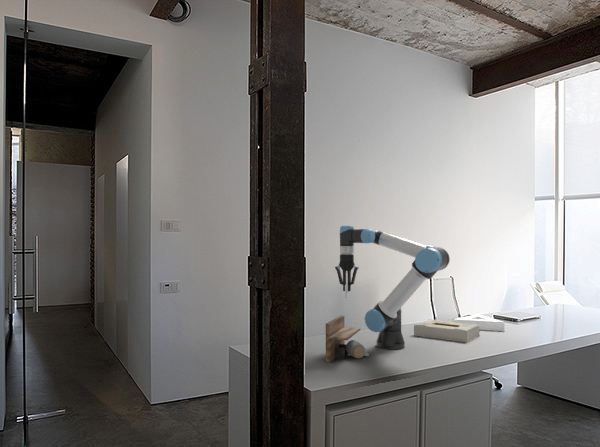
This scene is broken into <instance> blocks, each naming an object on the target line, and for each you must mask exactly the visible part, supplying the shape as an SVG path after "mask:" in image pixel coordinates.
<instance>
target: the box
mask: <svg viewBox="0 0 600 447" xmlns="http://www.w3.org/2000/svg"><path fill="white" fill-rule="evenodd" d="M413 335H414V336H416V337H417V336H418V337H423V338H430V339H440V340H447V341H455V342H462V343H468V342H470V341H472V340H474V339H475V338H478V337H479V336H480V330H479V325H478V324H469V323H456V322H454V321H445V320H438V319H431V318H430V319H428V320H425V321H422V322H419V323H416V324H414V326H413Z"/></svg>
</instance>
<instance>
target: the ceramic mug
mask: <svg viewBox="0 0 600 447" xmlns="http://www.w3.org/2000/svg"><path fill="white" fill-rule="evenodd" d="M346 344H347V345H346V352H347V353H348V354H349V355H348V356H351V357H353V358H355V359H362V358H363V357H364V356H365V357H369V356H370V353H369V352H367V351H366V348H365V347H364V345H363V344H362V343H360V342H359V341H357V340H355V339H352V340H349V341H348V342H347V343H346Z"/></svg>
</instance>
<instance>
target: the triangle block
mask: <svg viewBox="0 0 600 447" xmlns="http://www.w3.org/2000/svg"><path fill="white" fill-rule="evenodd" d="M453 322H456V323H469V324H478V325H479V331H493V332H494V331H497V332H505V321H502V320H499V319H495V318H493V317H489V316H485V315H482V314H479V313H478V314H474V315H469V316H468V315H467V316H463V317H460V318H454V319H453Z"/></svg>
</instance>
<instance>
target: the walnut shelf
mask: <svg viewBox="0 0 600 447" xmlns="http://www.w3.org/2000/svg"><path fill="white" fill-rule="evenodd" d="M359 331H361V327H350V326H349V327H348V326H345V315H342V314H341V315H339V316H337V317H336V318H333V319H332V320H329V321H328V322H327V323H325V363H331V362H332V361H333V360H335V359H341V360H342V359H343V360H345V358H346V356H350V355H349V354H348V353H347V352H346V345H347V343H346V342H345V341H348V340H350V339H351V338H352V337H353V336H355V335H356V334H357V333H359Z"/></svg>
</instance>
